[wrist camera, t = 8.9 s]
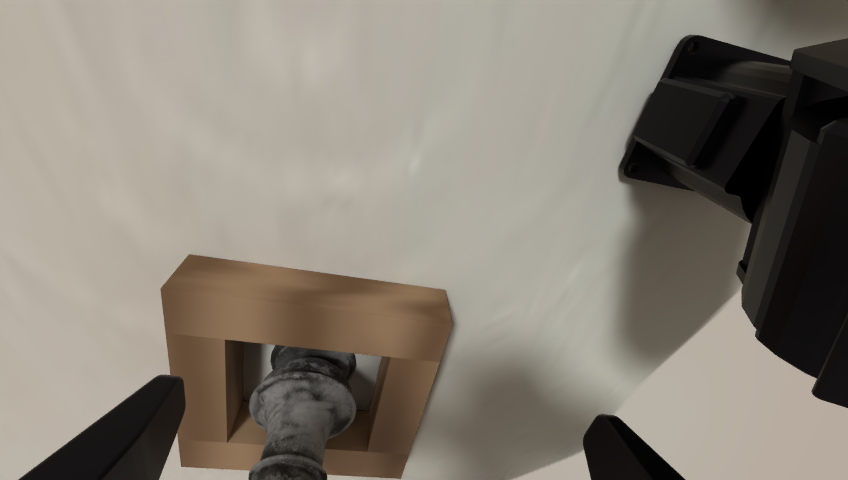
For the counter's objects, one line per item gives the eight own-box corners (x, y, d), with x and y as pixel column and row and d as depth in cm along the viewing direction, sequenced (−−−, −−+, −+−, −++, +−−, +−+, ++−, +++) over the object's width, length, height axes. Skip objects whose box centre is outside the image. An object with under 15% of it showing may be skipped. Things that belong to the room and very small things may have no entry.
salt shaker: (263, 323, 24) (164, 568, 13) (363, 329, 24) (343, 564, 14) (268, 391, 26) (189, 635, 16) (357, 394, 27) (336, 630, 17)
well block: (445, 290, 23) (452, 324, 21) (399, 438, 30) (400, 478, 27) (189, 254, 21) (160, 288, 18) (201, 423, 28) (181, 466, 25)
